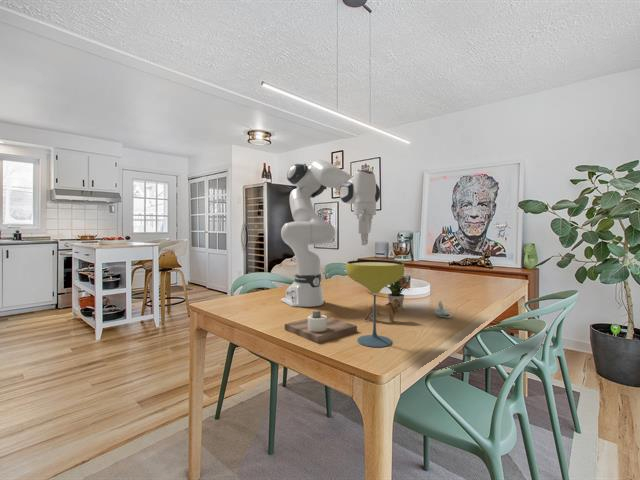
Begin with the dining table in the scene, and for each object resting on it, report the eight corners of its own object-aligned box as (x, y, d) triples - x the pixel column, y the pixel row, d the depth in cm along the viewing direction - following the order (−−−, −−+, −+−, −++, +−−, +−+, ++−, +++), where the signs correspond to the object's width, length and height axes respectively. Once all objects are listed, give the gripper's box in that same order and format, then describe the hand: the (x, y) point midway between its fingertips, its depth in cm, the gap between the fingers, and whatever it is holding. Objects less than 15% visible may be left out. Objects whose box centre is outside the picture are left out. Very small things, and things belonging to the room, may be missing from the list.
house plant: (413, 314, 136) (413, 275, 135) (379, 312, 140) (379, 274, 139) (413, 306, 149) (413, 271, 149) (382, 304, 153) (382, 270, 153)
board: (284, 329, 116) (284, 307, 116) (323, 320, 128) (323, 299, 127) (317, 343, 102) (317, 317, 102) (357, 331, 114) (357, 308, 113)
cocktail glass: (414, 341, 104) (415, 262, 103) (382, 357, 91) (383, 267, 90) (368, 328, 117) (368, 258, 116) (334, 341, 104) (334, 262, 103)
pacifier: (448, 314, 137) (433, 313, 137) (449, 299, 137) (434, 299, 137) (454, 319, 130) (438, 318, 130) (455, 303, 129) (439, 303, 130)
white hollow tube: (304, 330, 109) (304, 317, 109) (313, 325, 114) (313, 313, 114) (321, 332, 106) (321, 319, 106) (330, 327, 111) (329, 314, 111)
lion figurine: (399, 318, 130) (400, 296, 129) (404, 322, 124) (404, 299, 124) (363, 319, 129) (363, 296, 128) (366, 323, 123) (366, 299, 123)
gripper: (371, 208, 122) (371, 246, 122) (373, 211, 142) (373, 243, 142) (354, 209, 123) (354, 246, 123) (358, 211, 143) (358, 243, 143)
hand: (364, 244), depth 133 cm, fingers open, 8 cm apart
